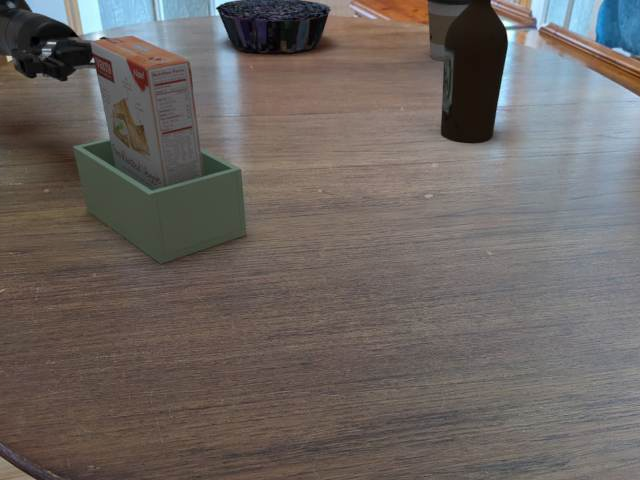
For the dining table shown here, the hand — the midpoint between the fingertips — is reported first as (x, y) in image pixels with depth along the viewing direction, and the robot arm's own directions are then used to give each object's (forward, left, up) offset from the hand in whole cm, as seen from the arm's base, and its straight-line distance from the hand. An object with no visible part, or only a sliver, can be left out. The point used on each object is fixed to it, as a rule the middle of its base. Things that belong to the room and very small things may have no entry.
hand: (95, 68), depth 95 cm
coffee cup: (+98, +25, -17) cm, 102 cm away
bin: (0, -14, -17) cm, 22 cm away
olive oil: (+60, -15, -17) cm, 64 cm away
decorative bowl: (+72, +58, -17) cm, 94 cm away
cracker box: (0, -14, -16) cm, 21 cm away
